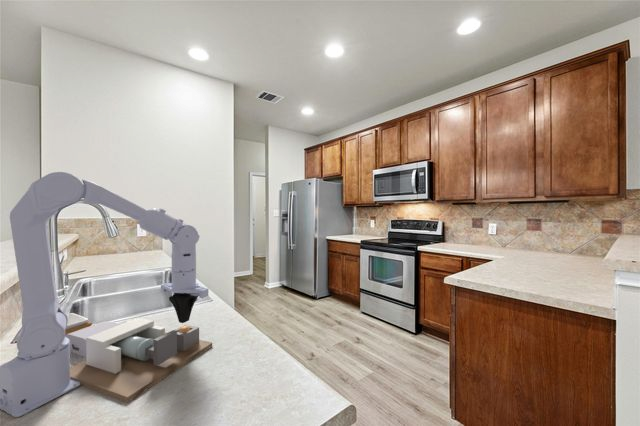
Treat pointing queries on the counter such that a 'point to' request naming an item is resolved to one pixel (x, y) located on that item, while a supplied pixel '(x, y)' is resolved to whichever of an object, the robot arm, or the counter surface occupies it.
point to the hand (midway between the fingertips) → (184, 321)
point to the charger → (80, 336)
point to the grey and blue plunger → (149, 347)
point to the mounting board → (133, 373)
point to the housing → (110, 356)
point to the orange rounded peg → (184, 329)
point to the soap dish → (76, 323)
